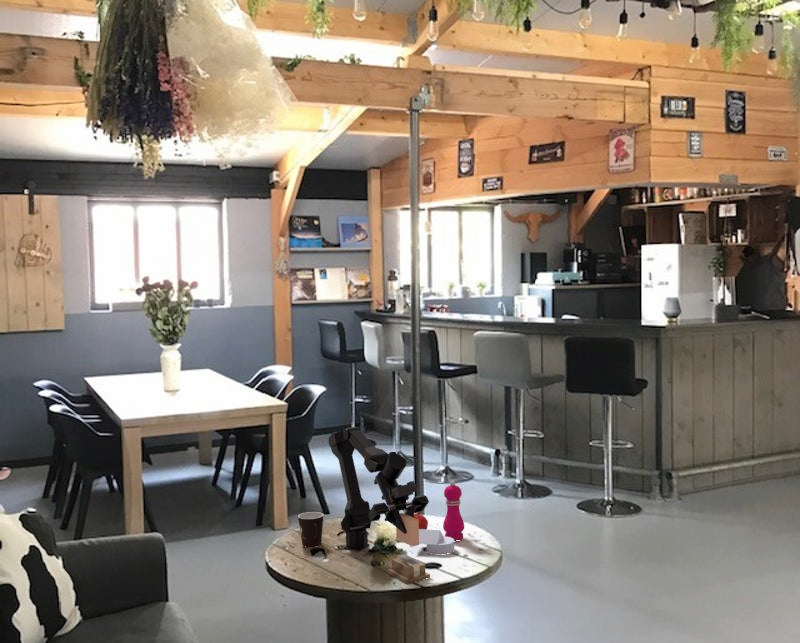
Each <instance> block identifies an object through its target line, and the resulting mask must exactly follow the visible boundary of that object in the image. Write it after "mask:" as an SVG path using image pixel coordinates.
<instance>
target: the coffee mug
mask: <svg viewBox="0 0 800 643" xmlns="http://www.w3.org/2000/svg"><path fill="white" fill-rule="evenodd" d="M297 520H298V524H299V532H300V538H301V544H302V545H303V546H306V547H305V548H308V547H312V548H317V547H316V546H318V547H320V546H321V545H322V538H323V526H324V513H322V512H319V511H307V512H302V513H300V514H298V515H297ZM303 546H302V547H303Z"/></svg>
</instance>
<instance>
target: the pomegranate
mask: <svg viewBox="0 0 800 643" xmlns="http://www.w3.org/2000/svg"><path fill="white" fill-rule="evenodd" d="M414 518H415V519H418V520H419V529H426V530H428V523H429V522H428V519H427V518H426V516H424V515H423V514H422V513H414Z"/></svg>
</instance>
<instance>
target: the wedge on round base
mask: <svg viewBox="0 0 800 643" xmlns="http://www.w3.org/2000/svg"><path fill="white" fill-rule="evenodd" d="M419 545H426V553H428V552H429V553H428V554H430V553H432V554H431V555H434V554H446V555H448V554H447V553H450V554H452V553H451V552H453V551H454V552H455V542H454V539H453V538H451V537H446V536H445V535H443V533H442V532H441V529H427V530H426V529H419ZM454 552H453V553H454Z"/></svg>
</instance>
